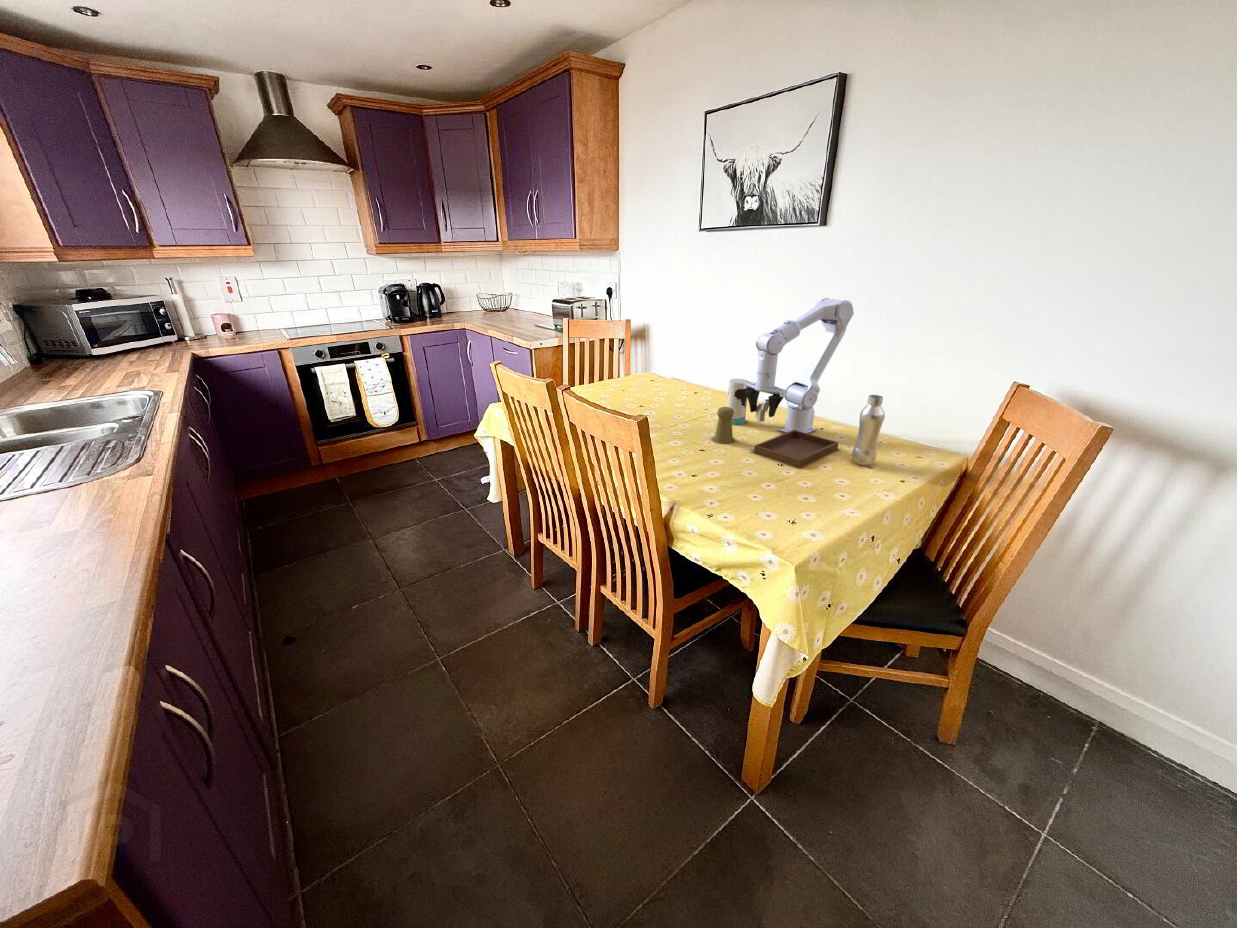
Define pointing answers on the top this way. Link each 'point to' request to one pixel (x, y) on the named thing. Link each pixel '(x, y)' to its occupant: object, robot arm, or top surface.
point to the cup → (737, 400)
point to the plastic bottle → (869, 431)
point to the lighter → (762, 410)
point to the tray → (796, 448)
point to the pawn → (724, 425)
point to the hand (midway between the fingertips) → (761, 413)
